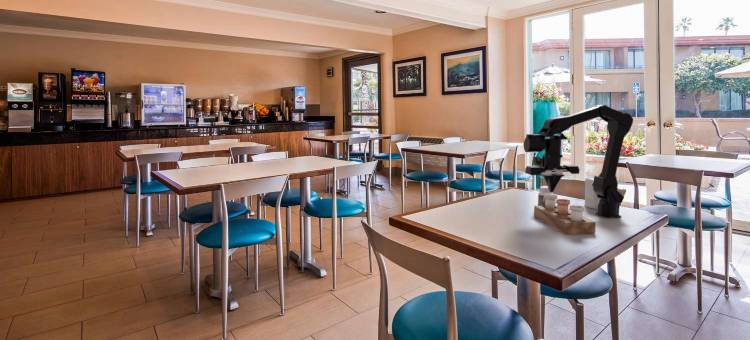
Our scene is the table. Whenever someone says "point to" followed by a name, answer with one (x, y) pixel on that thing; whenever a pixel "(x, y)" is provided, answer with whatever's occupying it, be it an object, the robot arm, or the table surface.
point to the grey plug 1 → (550, 201)
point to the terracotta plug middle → (562, 206)
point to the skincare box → (590, 194)
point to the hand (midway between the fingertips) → (551, 192)
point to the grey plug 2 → (576, 213)
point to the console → (564, 221)
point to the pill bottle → (541, 195)
